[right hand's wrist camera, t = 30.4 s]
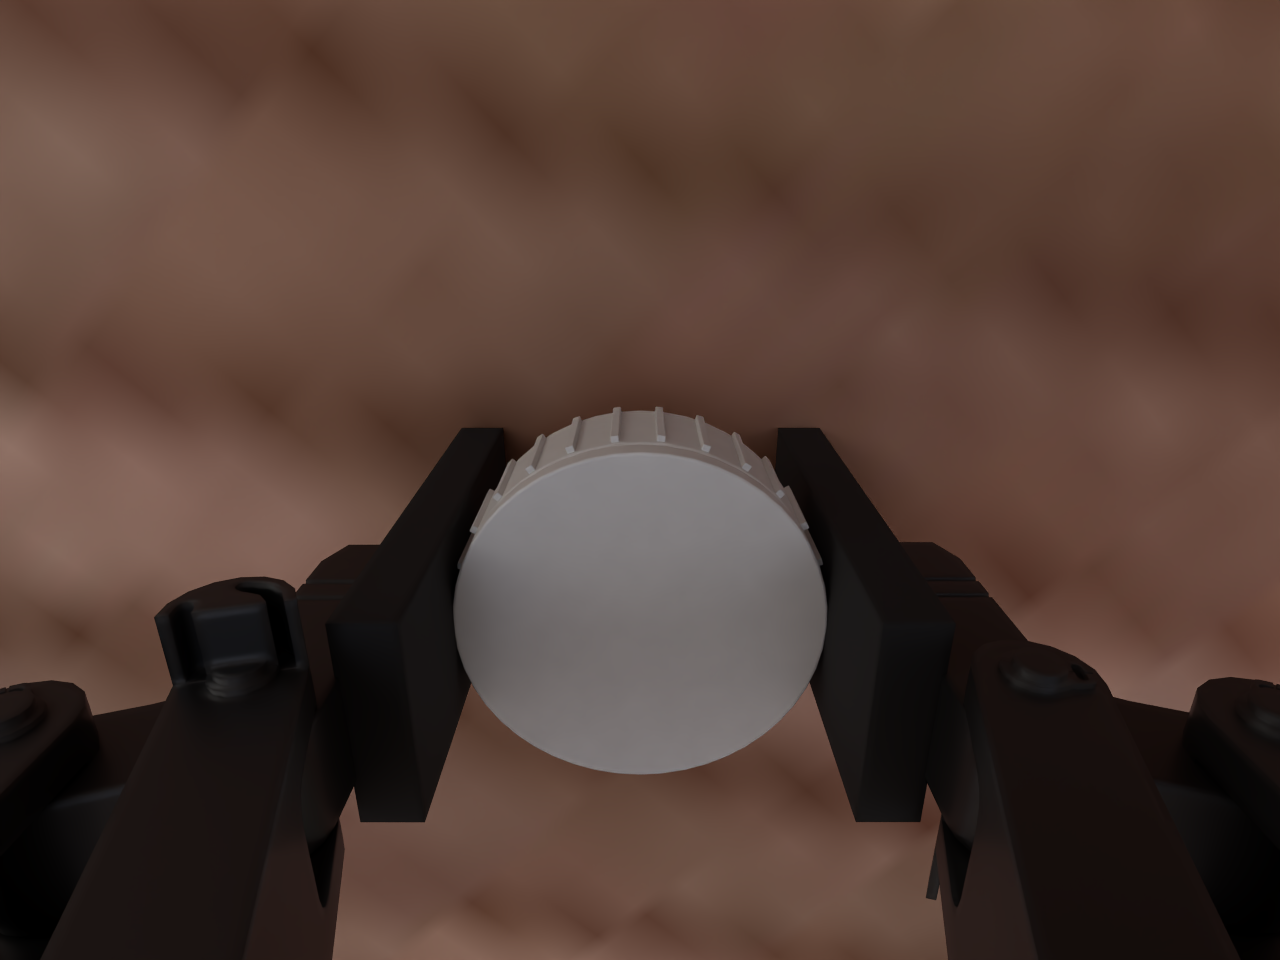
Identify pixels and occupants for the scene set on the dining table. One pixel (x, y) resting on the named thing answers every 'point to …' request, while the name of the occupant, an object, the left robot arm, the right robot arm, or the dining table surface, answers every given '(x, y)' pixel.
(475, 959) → the dining table surface
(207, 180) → the dining table surface
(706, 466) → the lid
